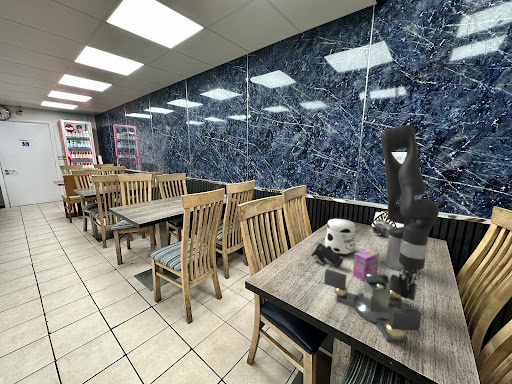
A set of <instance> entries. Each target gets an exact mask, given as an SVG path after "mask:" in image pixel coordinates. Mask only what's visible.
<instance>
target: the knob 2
mask: <svg viewBox="0 0 512 384" xmlns="http://www.w3.org/2000/svg"><path fill="white" fill-rule="evenodd" d="M421 321H422V312H421V311H420V310H419V309H418V308H402V307H395V308H391V309H390V316H389V321H387V322H386V328H385V331H386V333H387V334H388V335H389V336H391V337H392V338H394V339H397V340H402V339H403V338H404V337H405V331H418V332H419V331H420V327H421Z"/></svg>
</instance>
